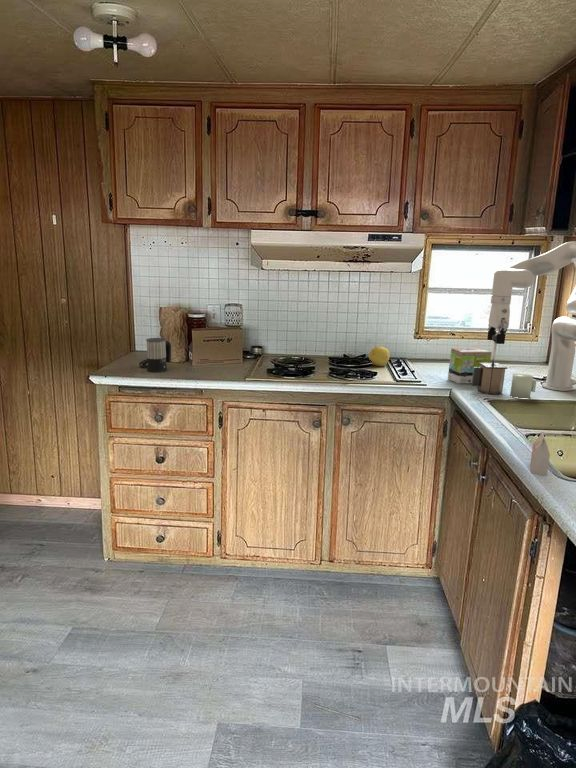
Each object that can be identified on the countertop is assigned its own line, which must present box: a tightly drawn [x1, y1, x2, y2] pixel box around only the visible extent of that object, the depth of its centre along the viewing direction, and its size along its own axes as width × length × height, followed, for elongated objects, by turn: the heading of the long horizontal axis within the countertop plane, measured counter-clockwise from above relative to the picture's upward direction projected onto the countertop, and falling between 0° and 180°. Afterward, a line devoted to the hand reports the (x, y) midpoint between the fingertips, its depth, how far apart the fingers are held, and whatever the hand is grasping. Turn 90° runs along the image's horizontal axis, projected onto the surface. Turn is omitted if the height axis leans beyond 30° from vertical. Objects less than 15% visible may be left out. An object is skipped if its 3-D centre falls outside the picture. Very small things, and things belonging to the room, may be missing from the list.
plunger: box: [491, 333, 498, 366], centre depth 220 cm, size 6×6×16 cm
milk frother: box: [138, 337, 172, 373], centre depth 248 cm, size 14×16×15 cm
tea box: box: [447, 347, 493, 384], centre depth 241 cm, size 15×10×15 cm, turn 106°
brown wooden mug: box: [471, 362, 508, 396], centre depth 223 cm, size 13×10×12 cm
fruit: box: [368, 346, 391, 367], centre depth 270 cm, size 10×11×10 cm
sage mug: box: [509, 373, 538, 399], centre depth 216 cm, size 9×8×9 cm
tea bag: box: [529, 431, 551, 477], centre depth 141 cm, size 4×7×10 cm, turn 158°
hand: (495, 341), depth 219 cm, fingers open, 9 cm apart
